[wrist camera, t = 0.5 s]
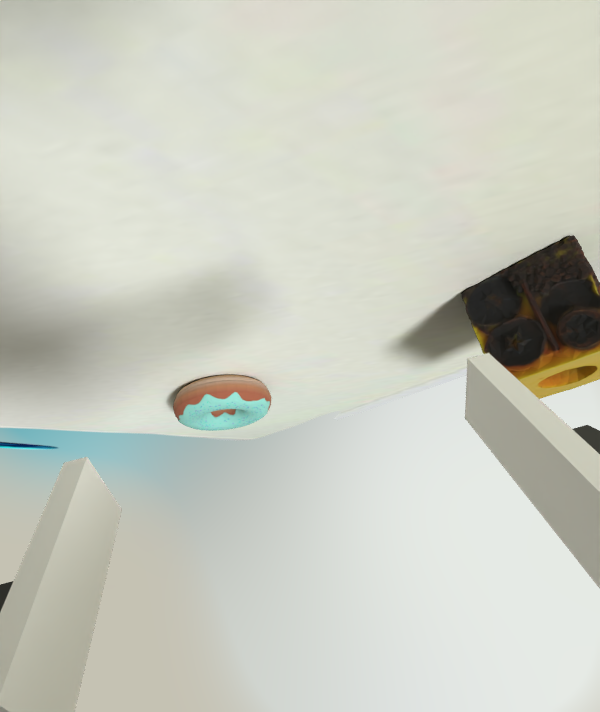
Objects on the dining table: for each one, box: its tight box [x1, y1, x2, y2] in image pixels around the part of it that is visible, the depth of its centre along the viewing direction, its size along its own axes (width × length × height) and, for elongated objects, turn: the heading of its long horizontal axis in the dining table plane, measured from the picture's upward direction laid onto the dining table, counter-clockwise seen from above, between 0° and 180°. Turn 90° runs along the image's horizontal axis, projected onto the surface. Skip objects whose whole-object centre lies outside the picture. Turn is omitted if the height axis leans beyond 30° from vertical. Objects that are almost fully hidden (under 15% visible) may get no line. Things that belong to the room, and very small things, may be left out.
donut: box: [173, 375, 271, 430], centre depth 52 cm, size 12×12×4 cm
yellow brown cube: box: [462, 236, 600, 399], centre depth 38 cm, size 10×10×10 cm
